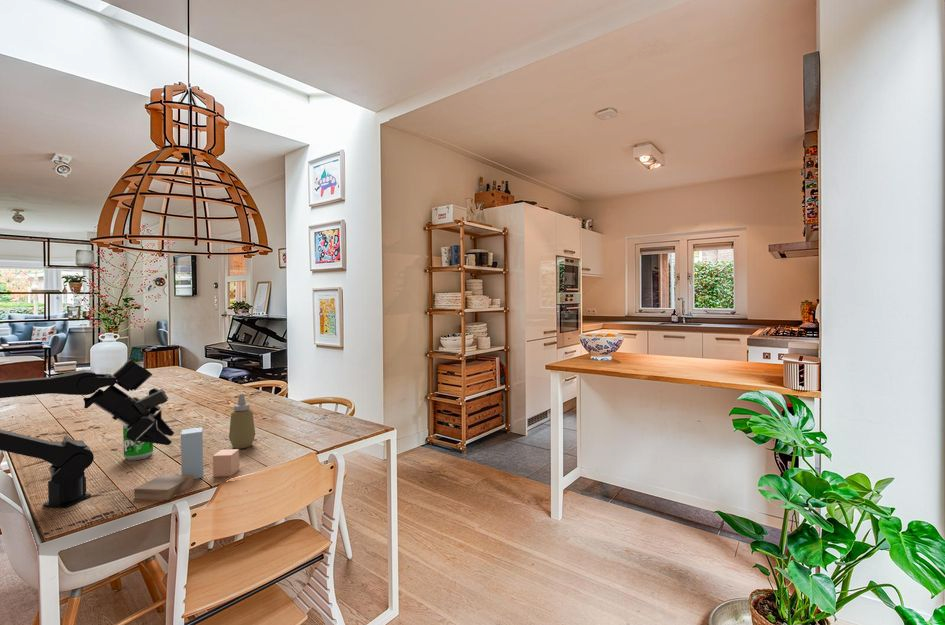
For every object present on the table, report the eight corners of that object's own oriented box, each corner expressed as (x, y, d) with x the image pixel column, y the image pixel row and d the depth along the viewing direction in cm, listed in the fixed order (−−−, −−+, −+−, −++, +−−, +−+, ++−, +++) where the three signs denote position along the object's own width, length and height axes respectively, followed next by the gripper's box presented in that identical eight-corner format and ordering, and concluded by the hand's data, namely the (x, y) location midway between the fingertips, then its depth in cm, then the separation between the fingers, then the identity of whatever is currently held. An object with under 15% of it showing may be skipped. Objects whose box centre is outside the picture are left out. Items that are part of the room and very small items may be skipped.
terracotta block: (231, 475, 123) (231, 455, 123) (213, 476, 123) (212, 455, 122) (239, 469, 128) (238, 449, 128) (221, 469, 127) (221, 449, 127)
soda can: (122, 457, 138) (121, 419, 138) (151, 451, 143) (150, 415, 143) (125, 463, 133) (124, 424, 132) (155, 457, 138) (154, 419, 137)
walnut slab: (168, 501, 108) (167, 489, 108) (134, 500, 109) (134, 488, 109) (194, 486, 117) (193, 475, 117) (163, 485, 118) (162, 474, 118)
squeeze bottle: (231, 444, 150) (230, 392, 150) (256, 441, 153) (256, 390, 153) (227, 451, 143) (226, 397, 142) (254, 448, 146) (253, 395, 145)
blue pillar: (181, 481, 119) (180, 434, 119) (182, 474, 124) (181, 429, 123) (202, 477, 122) (202, 431, 122) (203, 471, 126) (202, 427, 126)
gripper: (141, 387, 109) (194, 423, 115) (150, 376, 125) (196, 408, 131) (101, 422, 105) (158, 458, 111) (116, 406, 121) (165, 438, 127)
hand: (171, 438), depth 120 cm, fingers open, 9 cm apart
